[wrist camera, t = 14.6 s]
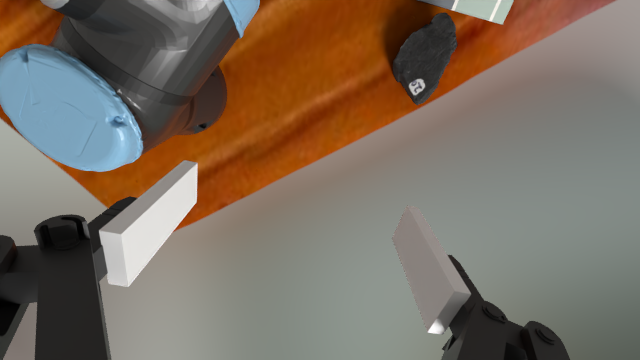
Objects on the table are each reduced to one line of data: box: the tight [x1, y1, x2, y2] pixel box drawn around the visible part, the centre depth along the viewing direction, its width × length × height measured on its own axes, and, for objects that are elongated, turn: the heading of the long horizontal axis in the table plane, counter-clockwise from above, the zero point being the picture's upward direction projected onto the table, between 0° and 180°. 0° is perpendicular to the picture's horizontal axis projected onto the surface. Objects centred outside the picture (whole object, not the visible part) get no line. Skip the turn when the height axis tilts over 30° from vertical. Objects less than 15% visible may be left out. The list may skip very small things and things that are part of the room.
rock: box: [393, 13, 457, 105], centre depth 39 cm, size 10×9×6 cm
